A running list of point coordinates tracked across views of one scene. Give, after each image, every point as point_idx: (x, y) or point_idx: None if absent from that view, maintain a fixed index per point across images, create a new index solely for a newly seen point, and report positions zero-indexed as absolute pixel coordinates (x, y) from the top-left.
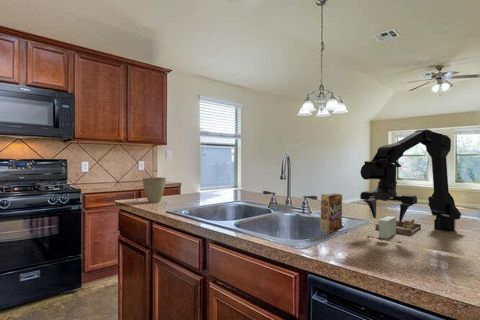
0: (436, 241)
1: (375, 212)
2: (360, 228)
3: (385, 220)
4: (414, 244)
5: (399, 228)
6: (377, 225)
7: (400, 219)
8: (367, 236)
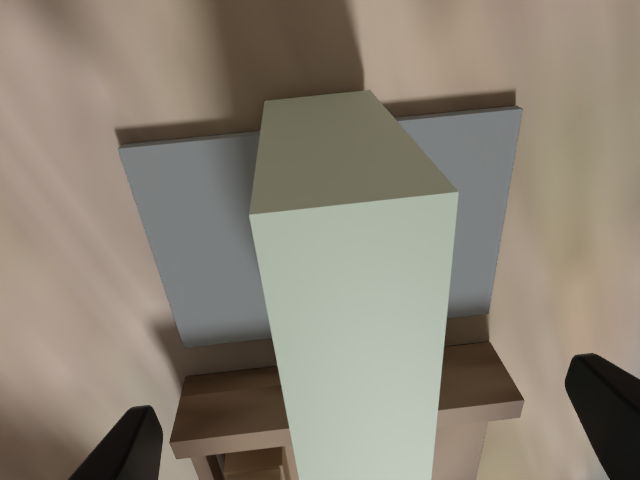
0: (13, 424)
1: (638, 478)
2: (632, 338)
3: (308, 228)
4: (22, 210)
5: (281, 426)
6: (500, 394)
7: (110, 445)
8: (513, 107)
